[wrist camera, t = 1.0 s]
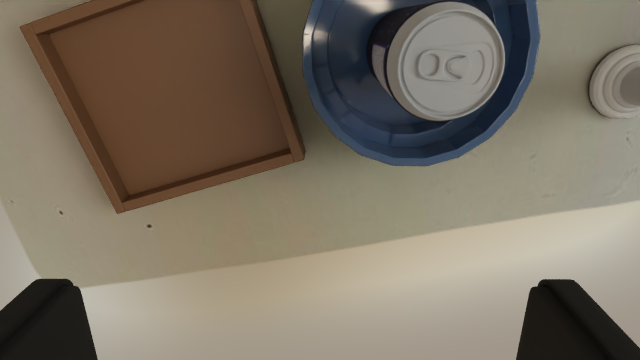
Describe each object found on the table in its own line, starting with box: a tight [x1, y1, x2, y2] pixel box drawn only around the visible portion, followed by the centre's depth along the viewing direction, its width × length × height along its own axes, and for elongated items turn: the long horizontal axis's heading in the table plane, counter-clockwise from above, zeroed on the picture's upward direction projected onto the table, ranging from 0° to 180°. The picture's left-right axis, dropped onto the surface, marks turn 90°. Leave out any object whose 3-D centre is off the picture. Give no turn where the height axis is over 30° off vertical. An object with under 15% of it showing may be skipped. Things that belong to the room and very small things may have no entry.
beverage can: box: [366, 0, 505, 122], centre depth 25 cm, size 6×6×12 cm
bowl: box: [303, 0, 540, 166], centre depth 28 cm, size 14×14×6 cm
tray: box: [20, 0, 305, 214], centre depth 31 cm, size 16×15×2 cm
